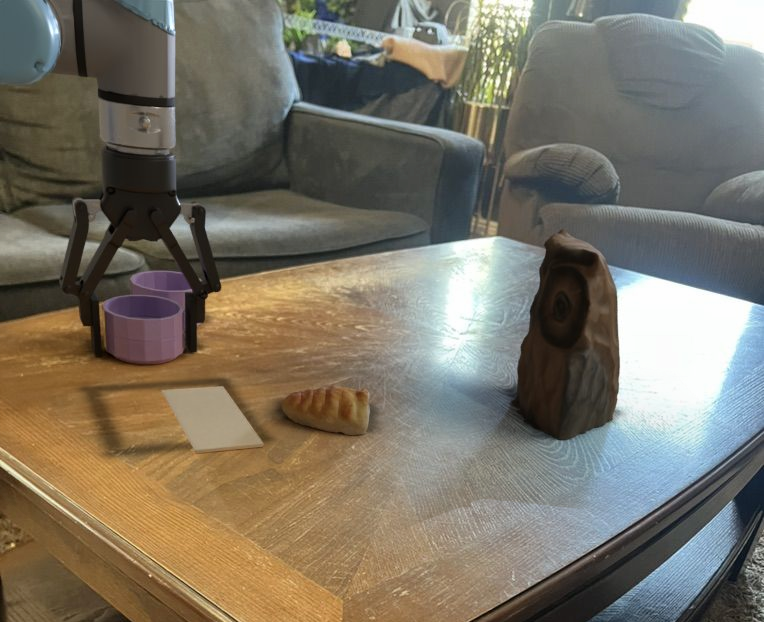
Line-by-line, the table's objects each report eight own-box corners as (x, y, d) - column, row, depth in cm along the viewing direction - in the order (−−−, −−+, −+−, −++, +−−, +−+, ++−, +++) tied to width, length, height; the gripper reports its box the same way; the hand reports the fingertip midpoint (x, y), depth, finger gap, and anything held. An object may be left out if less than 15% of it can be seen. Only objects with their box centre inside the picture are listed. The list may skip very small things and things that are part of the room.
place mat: (114, 461, 70) (114, 457, 70) (90, 397, 80) (90, 394, 80) (263, 446, 76) (263, 443, 76) (222, 389, 86) (223, 386, 86)
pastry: (278, 429, 80) (281, 394, 78) (284, 402, 86) (286, 370, 84) (369, 438, 81) (374, 404, 79) (368, 412, 86) (372, 379, 84)
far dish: (139, 335, 97) (138, 292, 94) (126, 311, 104) (124, 270, 101) (211, 333, 101) (211, 291, 98) (193, 310, 107) (193, 270, 105)
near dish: (112, 368, 87) (109, 320, 85) (99, 340, 94) (96, 295, 91) (192, 364, 91) (192, 318, 88) (174, 337, 98) (173, 294, 95)
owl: (561, 446, 85) (612, 261, 75) (471, 404, 92) (507, 229, 82) (617, 420, 93) (671, 251, 83) (532, 383, 100) (571, 222, 90)
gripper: (22, 145, 73) (45, 367, 85) (255, 161, 83) (247, 357, 95) (15, 133, 79) (38, 342, 90) (234, 149, 89) (229, 335, 100)
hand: (145, 350), depth 93 cm, fingers open, 10 cm apart
